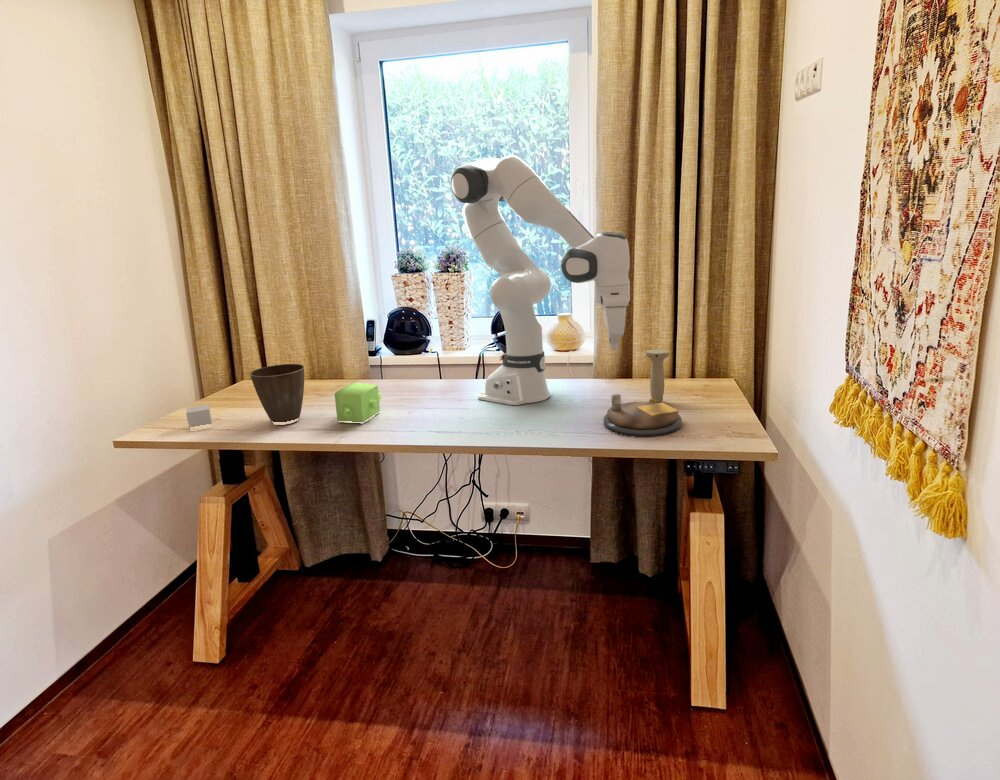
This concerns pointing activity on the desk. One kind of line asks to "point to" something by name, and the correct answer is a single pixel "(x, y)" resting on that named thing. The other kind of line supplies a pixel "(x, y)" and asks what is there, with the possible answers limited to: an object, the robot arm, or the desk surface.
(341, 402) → the gearbox
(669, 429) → the wheel base
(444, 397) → the desk surface
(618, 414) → the disc
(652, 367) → the handle
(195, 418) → the grey cube
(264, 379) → the plant pot
